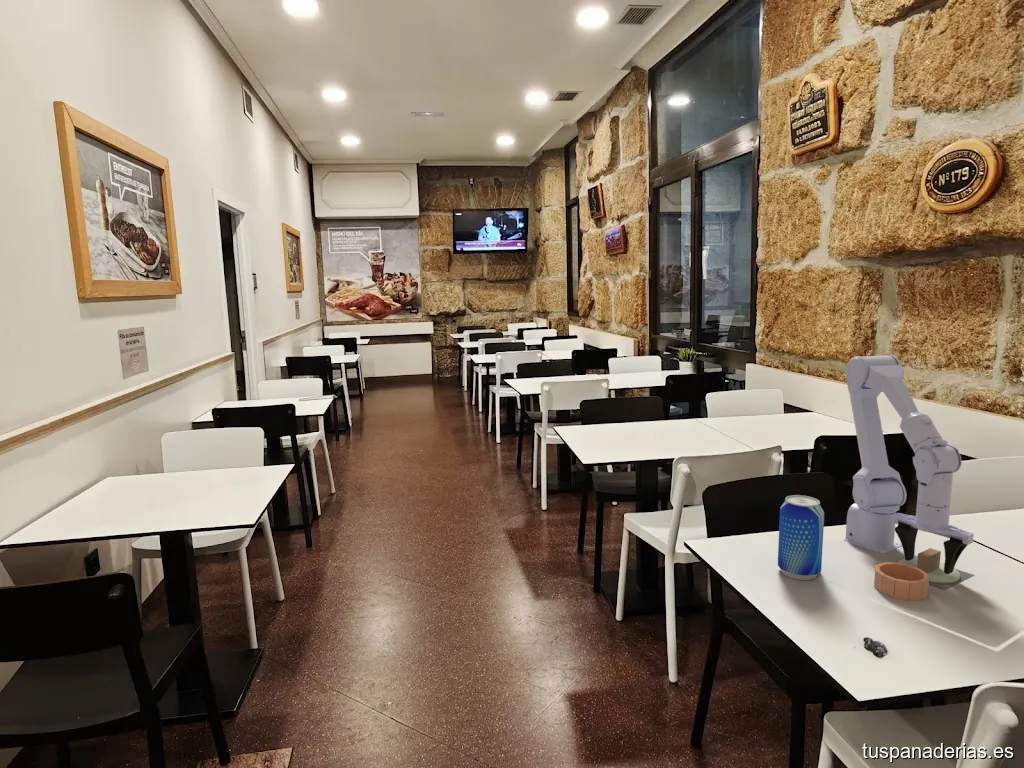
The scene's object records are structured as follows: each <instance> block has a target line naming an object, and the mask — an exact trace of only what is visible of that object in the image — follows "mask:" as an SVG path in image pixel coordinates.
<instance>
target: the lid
mask: <svg viewBox="0 0 1024 768" xmlns="http://www.w3.org/2000/svg"><path fill="white" fill-rule="evenodd" d="M941 552H942V551H941V550H938V549H935V548H931V547H930V548H928V549H925V550H924V551H921V552H919V553H917V556H918V558H913V559H912V560H909V561H907V560H905V558H902V559H900V560H898V561H897V562H898V563H901V564H907V565H910V566H913V567H916V568H919V569H921V570H923V571H924V572H926V573H927V574H928V576H929V582H931V583H941V584H947V583H954V582H957V581H959V579H960V573H959V572H958V571H957V570H958V569H957V568H955V567H954V570H953V572H952V573H950V574H946V573H944V564H945V562H941V554H942V553H941ZM956 569H957V570H956Z"/></svg>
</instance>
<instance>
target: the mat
mask: <svg viewBox="0 0 1024 768" xmlns="http://www.w3.org/2000/svg"><path fill="white" fill-rule="evenodd" d="M914 558H918V555H915V554H914ZM895 563H898V561H896V562H895ZM955 569H956V570H957V571H958V572H959V573H960V579H959V581H957V582H954V583H947V584H941V583H931V582H929V586H931V587H934V588H936V589H939V590H942V591H947V590H948V589H951V588H952V587H954V586H956V585H958V584H960V583H962V582H964V581H966V580H967V579H970V578H972V577H974V576H975V574H972V573H968V572H967V571H964V570H960V569H957V568H955Z"/></svg>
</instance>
